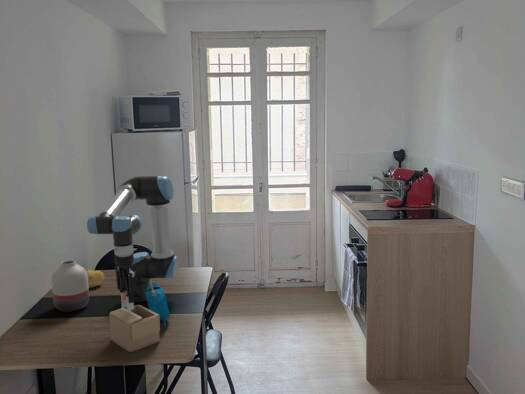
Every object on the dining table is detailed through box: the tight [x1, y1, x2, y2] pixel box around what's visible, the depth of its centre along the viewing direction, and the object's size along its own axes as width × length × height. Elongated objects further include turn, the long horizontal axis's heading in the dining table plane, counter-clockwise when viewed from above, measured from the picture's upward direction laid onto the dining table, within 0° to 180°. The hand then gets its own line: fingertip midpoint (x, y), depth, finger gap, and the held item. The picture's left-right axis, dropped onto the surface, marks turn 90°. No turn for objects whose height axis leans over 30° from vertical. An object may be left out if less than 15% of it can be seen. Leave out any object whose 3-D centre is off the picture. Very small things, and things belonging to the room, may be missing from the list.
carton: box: [108, 304, 161, 353], centre depth 218 cm, size 17×15×12 cm
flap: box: [109, 292, 142, 325], centre depth 213 cm, size 16×7×10 cm, turn 44°
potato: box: [86, 269, 105, 289], centre depth 284 cm, size 10×14×10 cm
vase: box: [51, 259, 90, 313], centre depth 254 cm, size 17×17×24 cm
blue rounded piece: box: [146, 280, 171, 327], centre depth 236 cm, size 17×10×20 cm, turn 15°
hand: (127, 308), depth 214 cm, fingers closed on flap, 4 cm apart
